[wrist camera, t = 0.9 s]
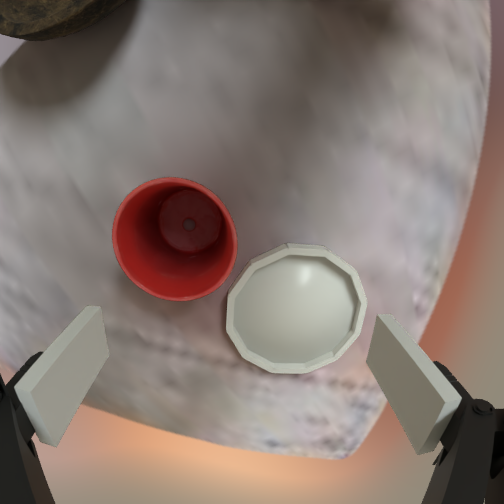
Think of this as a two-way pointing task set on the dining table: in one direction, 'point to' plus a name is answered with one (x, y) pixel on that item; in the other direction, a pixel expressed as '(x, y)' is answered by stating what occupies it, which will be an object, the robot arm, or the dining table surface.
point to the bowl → (51, 17)
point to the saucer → (295, 308)
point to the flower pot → (175, 239)
